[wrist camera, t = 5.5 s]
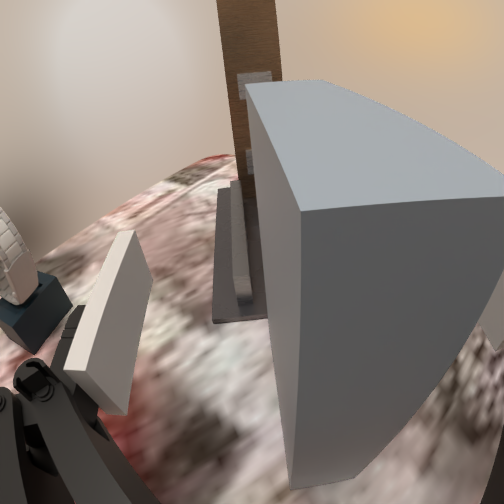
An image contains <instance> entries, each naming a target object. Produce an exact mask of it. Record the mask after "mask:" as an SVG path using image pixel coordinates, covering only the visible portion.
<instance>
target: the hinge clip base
mask: <svg viewBox="0 0 504 504" xmlns="http://www.w3.org/2000/svg"><path fill="white" fill-rule="evenodd" d="M216 1H217V10H218V18H219V26H220V34H221V42H222V50H223V59H224V67H225V75H226V83H227V91H228V99H229V107H230V115H231V123H232V131H233V139H234V146H235V155H236V163H237V170H238V178H239V180H237V181H230V186H231V187H229V188H222V189H218V196H217V213H216V231H215V252H214V275H213V302H212V321H213V324H214V323H224V322H234V321H243V320H252V319H261V318H268V312H267V301H266V290H265V280H264V269H263V259H262V248H261V238H260V227H259V217H258V207H257V197H256V187H255V177H254V167H253V158H252V148H251V138H250V129H249V119H248V110H247V101H246V91H245V84H252V83H263V82H277V81H282V69H281V58H280V47H279V36H278V27H277V16H276V8H275V0H216Z"/></svg>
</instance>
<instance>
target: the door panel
mask: <svg viewBox="0 0 504 504" xmlns="http://www.w3.org/2000/svg"><path fill="white" fill-rule="evenodd" d="M245 91H246V101H247V110H248V119H249V129H250V138H251V148H252V158H253V167H254V177H255V187H256V197H257V207H258V217H259V227H260V238H261V248H262V259H263V269H264V280H265V290H266V301H267V312H268V323H269V333H270V340H271V348H272V355H273V362H274V370H275V377H276V385H277V392H278V400H279V407H280V415H281V423H282V430H283V438H284V446H285V453H286V461H287V469H288V477H289V485H290V490H294V489H300V488H307V487H313V486H319V485H324V484H329V483H334V482H339V481H343V480H348V479H352V478H355V477H356V476H357V475H358V474H359V473H360V472H361V471H362V470H363V469H364V468H365V467H366V466H367V465H368V464H369V463H370V462H371V461H372V460H373V459H374V458H375V457H376V456H377V455H378V454H379V453H380V452H381V451H382V450H383V449H384V448H385V447H386V446H387V445H388V444H389V443H390V442H391V440H392V439H393V438H394V437H395V436H396V435H397V434H398V433H399V432H400V430H401V429H402V428H403V427H404V426H405V425H406V424H407V422H408V421H409V420H410V419H411V418H412V416H413V415H414V414H415V413H416V411H417V410H418V409H419V408H420V407H421V405H422V404H423V403H424V401H425V400H426V399H427V398H428V396H429V395H430V394H431V392H432V391H433V390H434V388H435V387H436V386H437V384H438V383H439V381H440V380H441V379H442V377H443V376H444V374H445V373H446V371H447V370H448V368H449V367H450V366H451V364H452V363H453V361H454V359H455V358H456V356H457V355H458V353H459V352H460V350H461V349H462V347H463V345H464V344H465V342H466V340H467V339H468V337H469V335H470V334H471V332H472V330H473V329H474V327H475V325H476V323H477V322H478V320H479V318H480V316H481V314H482V313H483V311H484V309H485V307H486V305H487V303H488V301H489V299H490V297H491V295H492V293H493V291H494V289H495V287H496V285H497V283H498V281H499V278H500V276H501V274H502V272H503V270H504V175H503V174H502V173H501V172H499V171H498V170H496V169H495V168H493V167H492V166H491V165H489V164H488V163H486V162H485V161H483V160H482V159H480V158H479V157H477V156H476V155H474V154H473V153H471V152H469V151H468V150H466V149H465V148H463V147H462V146H460V145H458V144H457V143H455V142H453V141H452V140H450V139H448V138H446V137H445V136H443V135H441V134H440V133H438V132H436V131H434V130H433V129H431V128H429V127H427V126H425V125H423V124H421V123H419V122H418V121H416V120H414V119H412V118H410V117H408V116H406V115H404V114H402V113H400V112H398V111H396V110H394V109H391V108H389V107H387V106H385V105H383V104H380V103H378V102H376V101H374V100H372V99H369V98H367V97H364V96H362V95H360V94H358V93H355V92H353V91H350V90H348V89H345V88H343V87H340V86H337V85H335V84H332V83H329V82H327V81H324V80H297V81H277V82H263V83H252V84H245Z"/></svg>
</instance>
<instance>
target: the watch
mask: <svg viewBox="0 0 504 504" xmlns="http://www.w3.org/2000/svg"><path fill="white" fill-rule="evenodd" d="M17 233H18V231H17V229H16V228H15V226H14V225H13V223H12V222H10V219H9V217H8V216H7V215H6V213H5V212H4V211H3V209H2V208H1V207H0V296H1V297H2V298H1V299H0V327H1V328H2V330H3V331H4V332H5V334H6V335H7V336H8V337H9V338H10V339H11V340H13V341H14V342H15V343H17V344H18V345H20V346H21V347H23V348H24V349H26V350H27V351H29V352H30V353H32V354H33V355H35V354H36V352H37V351H38V350H39V348H40V347H41V346H42V344H43V343H44V342H45V340H46V339H47V338H48V336H49V335H50V334H51V332H52V331H53V330H54V329H55V327H56V326H57V325H58V324H59V322H60V321H61V320H62V318H63V317H64V316H65V315H66V314H67V312H68V311H69V310H70V309H71V307H72V306H73V305H72V303H71V302H70V300H69V298H68V297H67V295H66V293H65V291H64V290H63V288H62V286H61V285H60V283H59V281H58V279H57V277H55V276H52V275H49V274H45V273H42V272H39V271H36V267H35V264H34V261H33V258H32V255H31V252H30V250H27V248H26V246H25V244H24V243H23V240H22V238H21V236H20V234H19V233H18V234H17ZM1 235H2V236H1ZM14 242H15V243H14ZM13 243H14V244H13ZM12 244H13V245H12Z"/></svg>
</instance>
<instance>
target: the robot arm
mask: <svg viewBox="0 0 504 504" xmlns="http://www.w3.org/2000/svg"><path fill="white" fill-rule="evenodd" d="M152 283H153V278H152V276H151V273H150V271H149V268H148V265H147V263H146V260H145V257H144V254H143V252H142V249H141V246H140V243H139V240H138V237H137V235H136V232H135V230H128V231H122V232H118V234H117V236H116V238H115V240H114V242H113V244H112V246H111V248H110V250H109V253H108V255H107V257H106V259H105V261H104V264H103V266H102V268H101V270H100V273H99V275H98V277H97V280H96V282H95V284H94V287H93V289H92V292H91V294H90V296H89V299H88V301H87V304H86V305H78V306H77V307H76V308H75V310H74V311H73V312H72V313H71V314H70V316H69V318H68V320H67V323H66V325H65V330H63V333H62V336H61V340H60V341H59V343H58V346H57V349H56V352H55V355H54V357H53V360H52V363H51V366H50V368H49V367H48V366H47V365H46V364H45V363H44V361H43V360H41V359H39V358H30V359H28V360H26V361H24V362H23V363H22V364H21V365H20V366H19V367H18V369H17V371H16V372H15V375H14V379H13V386H14V388H15V389H16V390H17V391H18V392H19V394H15V395H14V394H13V393H12V392H11V391H10V390H9V389H8V388H5V387H0V504H75V503H76V504H161V503H160V502H159V501H158V500H157V498H156V497H155V496H154V495H153V494H152V492H151V491H150V490H149V489H148V487H147V486H146V485H145V484H144V482H143V481H142V480H141V478H140V477H139V476H138V474H137V473H136V472H135V470H134V469H133V468H132V466H131V465H130V463H129V462H128V461H127V459H126V458H125V456H124V455H123V453H122V452H121V450H120V449H119V447H118V446H117V444H116V443H115V441H114V440H113V438H112V437H111V435H110V434H109V432H108V430H107V429H106V427H105V426H104V424H103V422H102V421H101V419H100V418H99V417H98V416H97V413H98V408H99V407H100V408H101V409H102V410H103V411H104V412H105V413H106V414H113V415H127V410H128V403H129V397H130V391H131V384H132V379H133V373H134V367H135V362H136V357H137V351H138V346H139V341H140V336H141V331H142V327H143V322H144V317H145V313H146V308H147V304H148V300H149V295H150V291H151V287H152ZM478 323H479V324H480V326H481V327H482V329H483V331H484V332H485V334H486V336H487V338H488V339H489V341H490V343H491V344H492V346H493V348H494V350H495V351H497V350H499V349H502V348H504V270H503V272H502V274H501V276H500V278H499V281H498V283H497V285H496V287H495V289H494V291H493V293H492V295H491V297H490V299H489V301H488V303H487V305H486V307H485V309H484V311H483V313H482V314H481V316H480V318H479V320H478ZM74 501H75V502H74ZM480 504H504V426H503V431H502V435H501V439H500V443H499V447H498V451H497V455H496V458H495V462H494V465H493V468H492V472H491V475H490V478H489V481H488V484H487V487H486V490H485V492H484V495H483V498H482V500H481V503H480Z"/></svg>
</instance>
